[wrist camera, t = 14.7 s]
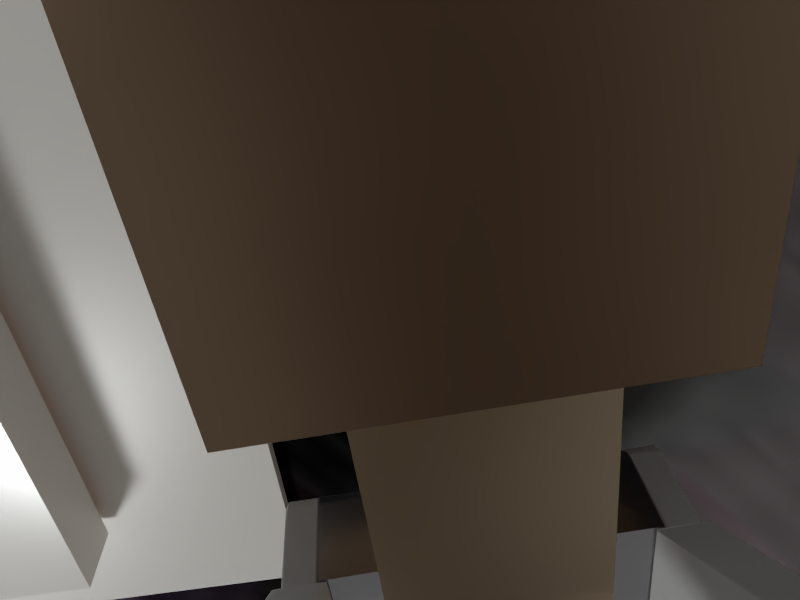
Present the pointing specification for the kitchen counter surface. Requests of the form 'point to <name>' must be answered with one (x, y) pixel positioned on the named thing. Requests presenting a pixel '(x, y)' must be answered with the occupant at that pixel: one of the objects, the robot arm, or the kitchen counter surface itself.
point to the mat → (112, 352)
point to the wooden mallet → (449, 241)
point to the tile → (40, 493)
